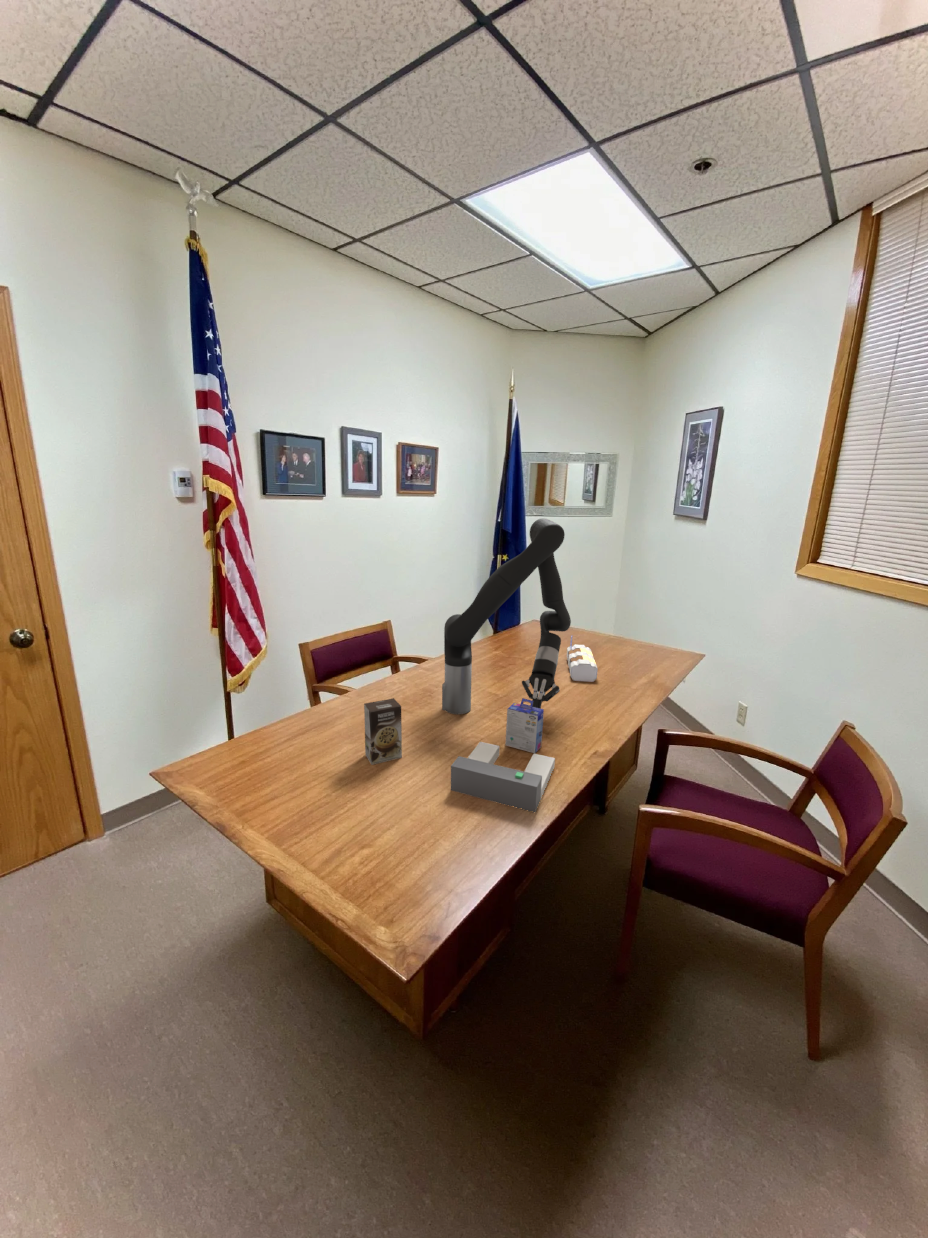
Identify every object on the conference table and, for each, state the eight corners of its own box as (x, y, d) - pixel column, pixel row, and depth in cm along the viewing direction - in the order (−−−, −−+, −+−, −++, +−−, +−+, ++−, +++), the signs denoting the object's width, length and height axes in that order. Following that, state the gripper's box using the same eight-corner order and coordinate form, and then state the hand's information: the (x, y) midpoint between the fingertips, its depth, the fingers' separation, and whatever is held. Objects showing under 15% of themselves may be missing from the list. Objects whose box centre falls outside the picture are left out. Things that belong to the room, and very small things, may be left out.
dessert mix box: (371, 765, 133) (369, 712, 128) (364, 754, 138) (362, 702, 134) (402, 758, 137) (401, 705, 132) (395, 747, 142) (394, 697, 138)
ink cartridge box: (542, 746, 144) (545, 701, 141) (536, 754, 140) (538, 708, 136) (511, 738, 149) (514, 694, 145) (504, 745, 144) (506, 701, 140)
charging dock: (450, 790, 122) (450, 763, 120) (479, 750, 141) (480, 727, 139) (535, 812, 114) (537, 784, 112) (554, 767, 133) (556, 743, 131)
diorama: (566, 660, 219) (568, 632, 216) (589, 661, 218) (591, 634, 215) (570, 681, 195) (572, 650, 192) (596, 682, 194) (599, 652, 191)
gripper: (524, 655, 160) (512, 703, 152) (564, 660, 155) (554, 710, 148) (528, 665, 166) (516, 712, 158) (566, 670, 161) (556, 719, 154)
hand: (535, 711), depth 153 cm, fingers closed
